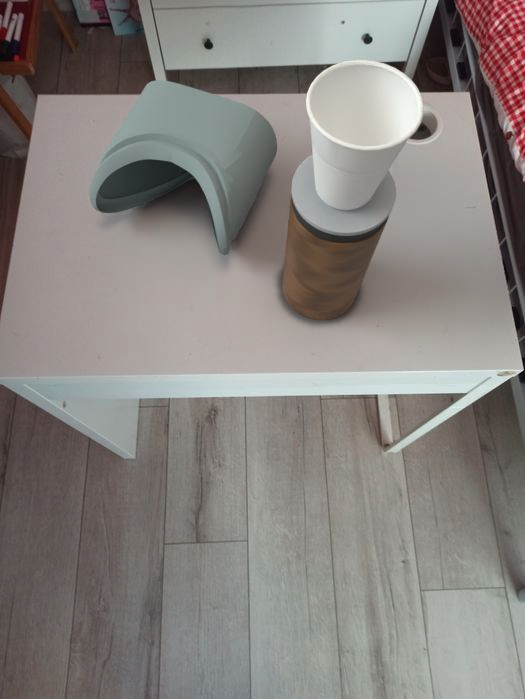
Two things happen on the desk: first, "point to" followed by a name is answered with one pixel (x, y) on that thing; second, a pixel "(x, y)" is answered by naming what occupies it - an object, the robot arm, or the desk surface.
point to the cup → (359, 128)
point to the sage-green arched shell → (187, 155)
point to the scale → (335, 221)
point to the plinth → (323, 270)
